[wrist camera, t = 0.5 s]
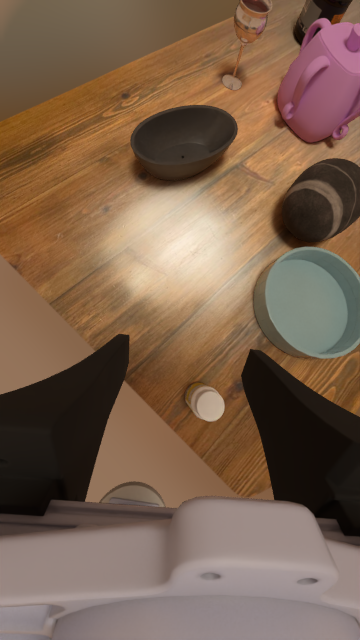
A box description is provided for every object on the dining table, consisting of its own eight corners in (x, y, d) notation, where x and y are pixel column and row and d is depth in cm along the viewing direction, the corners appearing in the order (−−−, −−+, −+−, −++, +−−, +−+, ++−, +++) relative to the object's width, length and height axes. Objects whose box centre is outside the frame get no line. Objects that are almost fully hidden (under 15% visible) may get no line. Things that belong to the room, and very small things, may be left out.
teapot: (265, 126, 50) (309, 37, 36) (283, 69, 55) (329, -29, 41) (334, 158, 52) (402, 83, 38) (346, 99, 56) (411, 14, 42)
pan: (346, 368, 42) (369, 369, 37) (246, 345, 40) (258, 343, 35) (350, 271, 46) (371, 262, 42) (260, 246, 44) (272, 234, 40)
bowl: (236, 172, 47) (249, 144, 41) (148, 202, 42) (147, 177, 36) (211, 129, 48) (220, 96, 42) (122, 155, 43) (117, 122, 37)
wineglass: (218, 88, 50) (238, 7, 39) (219, 68, 52) (239, -17, 40) (244, 95, 51) (272, 18, 40) (245, 75, 53) (272, -6, 41)
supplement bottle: (213, 406, 37) (231, 419, 29) (187, 413, 36) (198, 429, 28) (206, 378, 37) (222, 384, 29) (181, 385, 37) (190, 393, 28)
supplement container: (333, 46, 59) (378, -31, 48) (309, 57, 57) (350, -21, 45) (310, 20, 60) (348, -62, 48) (285, 30, 58) (319, -54, 46)
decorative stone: (303, 266, 45) (346, 240, 35) (256, 218, 45) (286, 180, 35) (351, 216, 49) (401, 181, 39) (307, 173, 49) (346, 128, 40)
